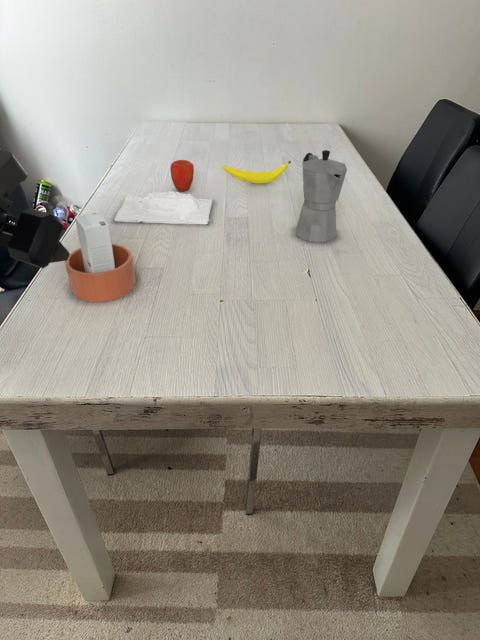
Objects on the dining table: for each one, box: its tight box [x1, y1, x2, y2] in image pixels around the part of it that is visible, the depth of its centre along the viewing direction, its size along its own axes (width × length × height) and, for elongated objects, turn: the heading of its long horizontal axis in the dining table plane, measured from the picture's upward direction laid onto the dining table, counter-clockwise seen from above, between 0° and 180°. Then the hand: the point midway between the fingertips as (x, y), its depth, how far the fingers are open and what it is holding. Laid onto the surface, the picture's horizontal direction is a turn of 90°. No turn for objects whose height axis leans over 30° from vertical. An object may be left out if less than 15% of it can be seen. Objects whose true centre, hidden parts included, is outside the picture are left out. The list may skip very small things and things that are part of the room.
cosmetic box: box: [74, 211, 115, 273], centre depth 76 cm, size 6×4×12 cm
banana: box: [220, 160, 292, 185], centre depth 122 cm, size 3×19×6 cm, turn 92°
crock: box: [64, 243, 137, 303], centre depth 78 cm, size 11×11×6 cm
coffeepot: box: [295, 149, 348, 244], centre depth 94 cm, size 15×9×18 cm, turn 18°
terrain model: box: [114, 191, 213, 225], centre depth 106 cm, size 17×23×5 cm
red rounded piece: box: [169, 159, 195, 192], centre depth 117 cm, size 6×6×8 cm
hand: (42, 249), depth 62 cm, fingers open, 9 cm apart
